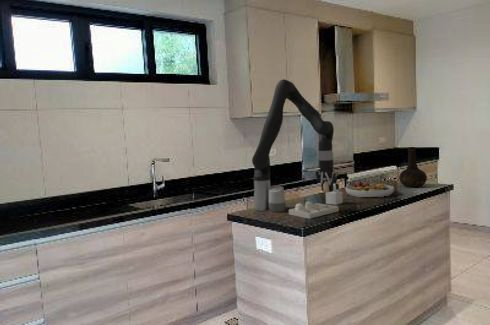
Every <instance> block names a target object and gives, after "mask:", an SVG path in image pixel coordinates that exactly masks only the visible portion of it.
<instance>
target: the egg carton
mask: <svg viewBox="0 0 490 325" xmlns="http://www.w3.org/2000/svg"><path fill="white" fill-rule="evenodd" d="M312 204H313V208H311V209H307V208H305V205H303V206H304V210H302V211H296V210H295V207H294V208H289V209H288V215H291V216H295V217H301V218H305V219H313V218H317V217H321V216H324V215H325V216H326V215H330V214H332V213H337V212H339V211H340V210H339V206H337V205H332V204H326V203H325V204H324V203H318V202H317V203H312Z"/></svg>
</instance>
